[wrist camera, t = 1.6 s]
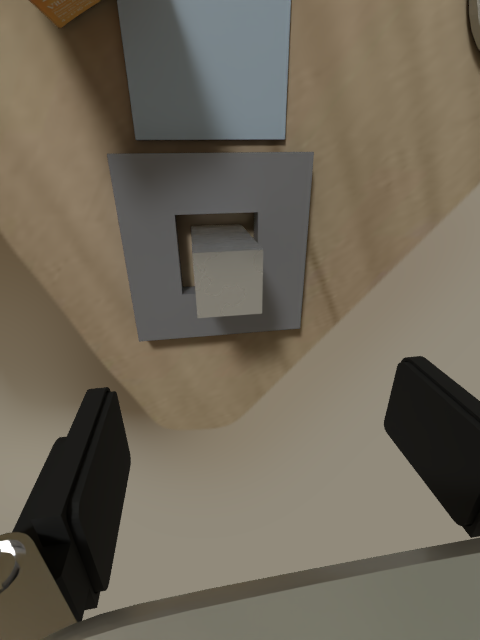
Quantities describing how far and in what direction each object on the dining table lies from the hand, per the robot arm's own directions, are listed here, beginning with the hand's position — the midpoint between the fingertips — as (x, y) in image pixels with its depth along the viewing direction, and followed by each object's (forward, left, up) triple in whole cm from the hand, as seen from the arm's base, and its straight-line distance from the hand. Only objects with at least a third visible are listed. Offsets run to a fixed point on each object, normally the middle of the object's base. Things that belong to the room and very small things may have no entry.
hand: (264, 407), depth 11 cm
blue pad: (0, -15, -22) cm, 27 cm away
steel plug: (0, 0, -22) cm, 22 cm away
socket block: (0, 0, -22) cm, 22 cm away
